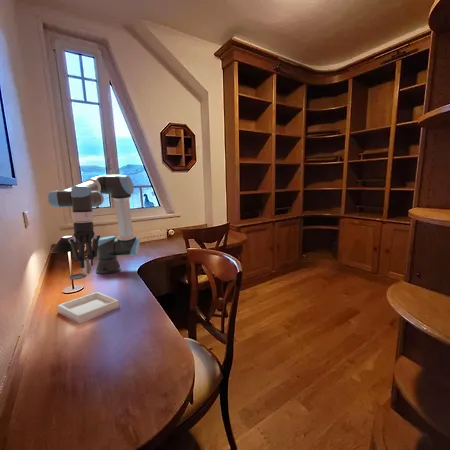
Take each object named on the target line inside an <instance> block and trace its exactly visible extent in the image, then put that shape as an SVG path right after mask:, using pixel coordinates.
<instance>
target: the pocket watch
mask: <svg viewBox="0 0 450 450" xmlns="http://www.w3.org/2000/svg"><path fill="white" fill-rule="evenodd" d="M87 259H88V257H87V253H84V260H86V262H87V275H83V274H82V272H81V273H80V272H79V273H74V274H71V275H69V279H70V280H73V281H74V280H81V279H85V278H87V276H88V275H89V274H88V273H90V271H91V270H92V266H91V265H90V262H89V261H88V260H87Z"/></svg>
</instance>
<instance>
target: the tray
mask: <svg viewBox="0 0 450 450" xmlns="http://www.w3.org/2000/svg"><path fill="white" fill-rule="evenodd" d="M118 308H120V300H119V299H116V298H114V297H112V296H109V295H106V294H104V293H101V292H99V291H95V292H92V293H90V294H87V295H84V296H81V297H77V298H75V299H70V300H68V301H65V302H63V303H60V304H57V310H58V311H57V312H58V313H59V314H60V315H62V316H64V317H65V318H67V319H69V320H71V321H73V322H74V323H76V324H78V325H80V324H82V323H85V322H89V321H90V320H92V319H95V318H97V317H100V316H102V315H104V314H107V313H109V312H112V311H113V310H117V309H118Z"/></svg>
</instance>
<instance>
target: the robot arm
mask: <svg viewBox="0 0 450 450" xmlns="http://www.w3.org/2000/svg"><path fill="white" fill-rule="evenodd" d="M132 194H134V183H133V181H132V178H131V177H130V176H129V175H127V174H126V175H125V174H101V175H97V176H94V177H90V178H88V179H86V180H85V181H84V182H82V183H80V184H79V183H78V184H77V185H73V186H71V187H69V188H66V189H62V190H51V191H50V192H49V193H48V194H47V201H48V204H49V205H50V206H51V207H53V208H55V207H56V208H72V220H73V231H74V233H73V236H72V237H70V238H68V239H67V242H68V243H69V244H70V247H71V248H70V249H71V252H72V256H73V259H74V260H75V261H79V267H80V268H81V273H82V274H83V275H87V276H88V275H92V274H93V273H92V269H91V271H90V273H88V274H87V262H86V260H84V259H85V258H84V257H85V255H84V254H85V250H86V254H87V257H86V259H87V260H88V261H89V262H90V265H91V267H93V265H94V262H93V260H94V259H95V258H96V257H97V264H96V267H95V273H96V274H100V275H107V274H109V275H110V274H113V273H118V272H119V271H121V265H120V264H121V263H120V261H119V260H118V256H136V255H137V254H138V252H139V249H140V242H141V241H140V238H139V237H137V235H136V234H135V233H134V228H133V221H132V213H131V205H130V198H131V197H132ZM104 195H110V196H111V199H113V200H114V206H115V213H116V220H117V227H118V234H119V235H117V237H116V235H109V236H103V237H101V235H99V234H96V233H95V231H94V217H93V216H94V215H93V208H97V207H99V206H101V205H103V203H104V200H105V199H104ZM92 239H93V240H92ZM76 243H77V244H76ZM77 245H78V247H77ZM85 248H86V249H85Z"/></svg>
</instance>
